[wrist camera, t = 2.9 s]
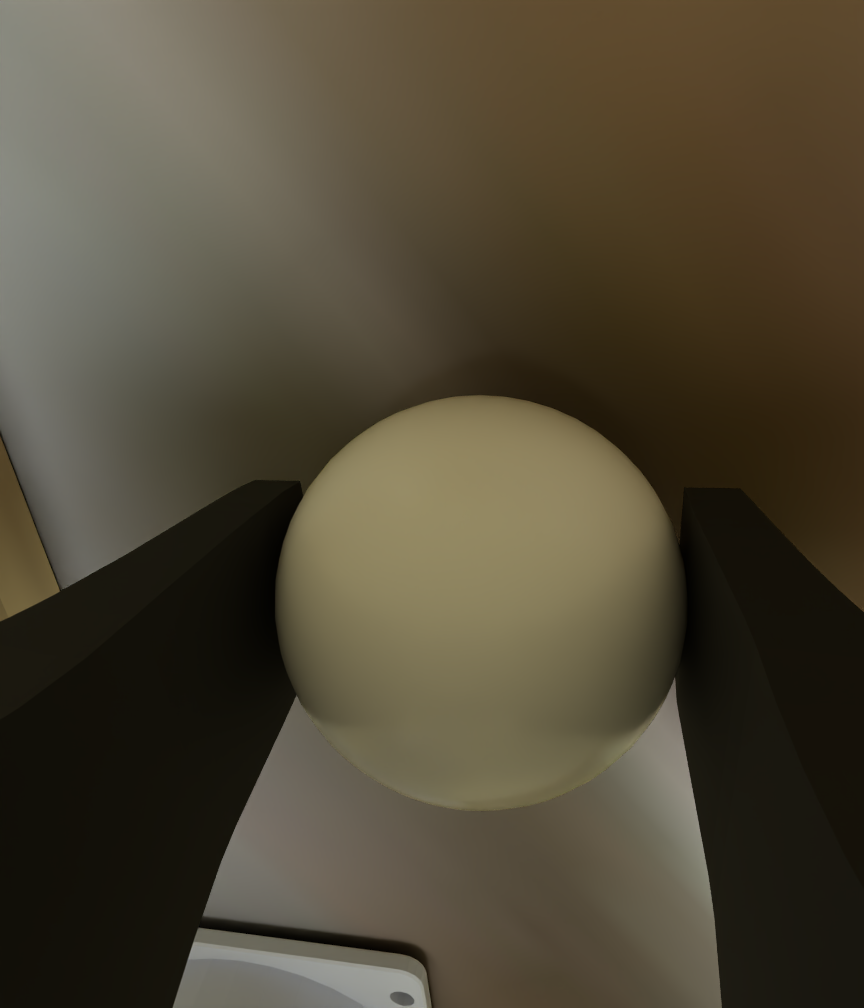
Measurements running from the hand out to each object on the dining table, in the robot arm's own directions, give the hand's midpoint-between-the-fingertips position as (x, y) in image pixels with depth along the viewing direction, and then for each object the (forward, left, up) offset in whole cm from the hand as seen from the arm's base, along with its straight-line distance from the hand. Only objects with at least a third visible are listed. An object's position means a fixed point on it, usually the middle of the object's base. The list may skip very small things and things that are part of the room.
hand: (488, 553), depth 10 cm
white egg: (0, 0, -1) cm, 1 cm away
